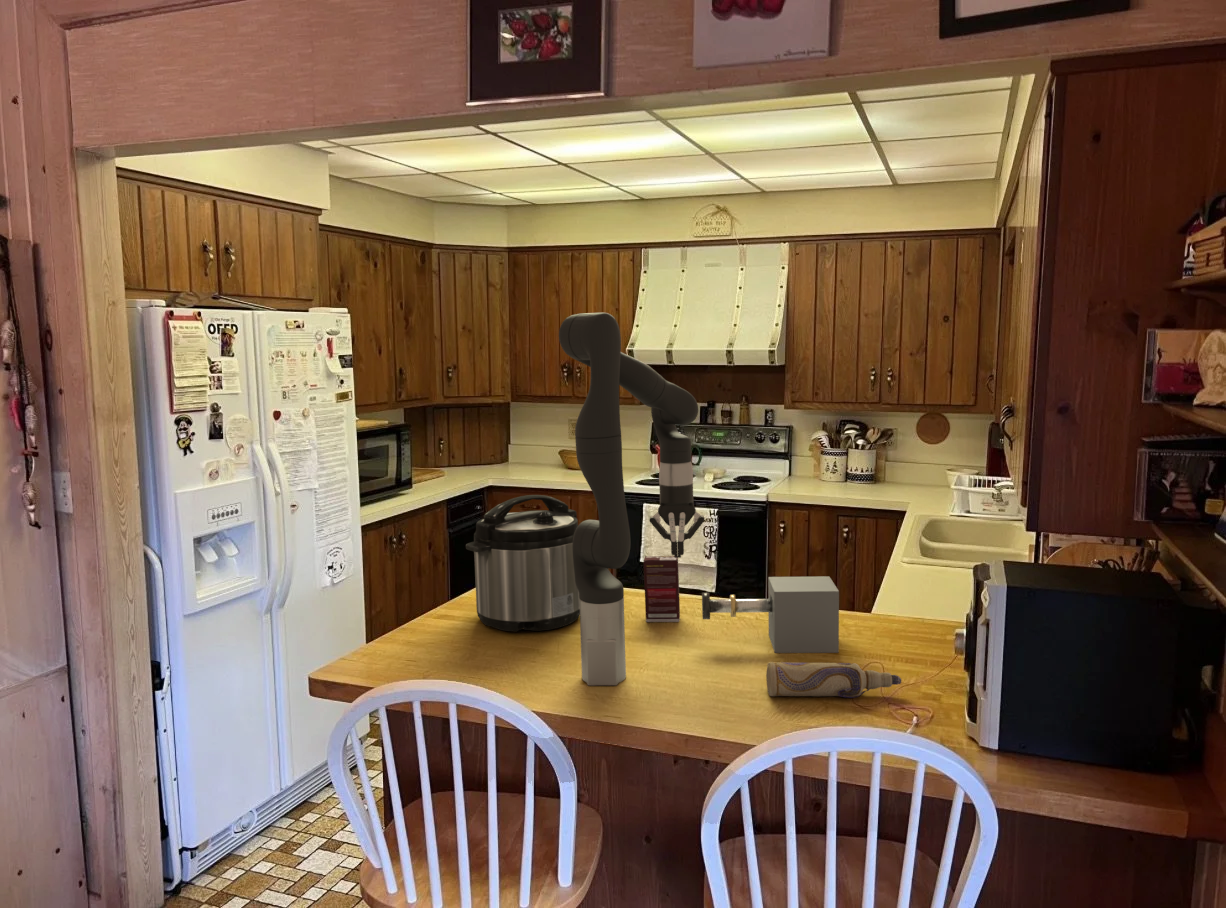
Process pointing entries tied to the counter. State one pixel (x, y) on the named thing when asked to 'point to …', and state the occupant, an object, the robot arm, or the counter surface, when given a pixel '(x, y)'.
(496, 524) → the pressure cooker
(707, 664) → the counter surface
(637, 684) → the counter surface
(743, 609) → the shaft
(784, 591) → the bearing block
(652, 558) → the supplement box
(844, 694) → the decorative bottle
